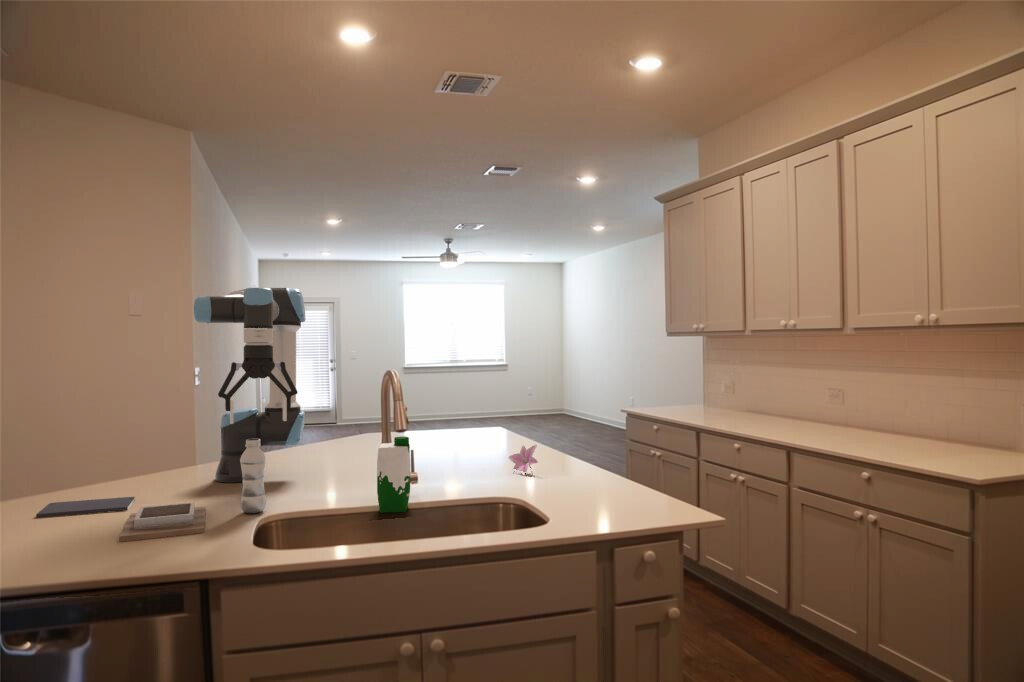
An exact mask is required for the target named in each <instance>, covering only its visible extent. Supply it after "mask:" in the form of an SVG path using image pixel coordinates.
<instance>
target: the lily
mask: <svg viewBox="0 0 1024 682" xmlns="http://www.w3.org/2000/svg"><path fill="white" fill-rule="evenodd" d="M537 447H538V445H537V444H534V445H532V446H530V447H528V448H527V447H525V445H522V446H521V449H520V452H519V453H513V454H511V455H509V456H508V459H509V461H511V462H512V463H513V464H515V465H514V466H513V469H516V470H517V471H523V472H526V473H527V471H528V467H529V468H531V469H532V467H531V465H534V464H538V463H539V462H538V460H537V459H536V458H535V457H533V455H534V453H535V451H536V448H537ZM513 469H512V470H513Z"/></svg>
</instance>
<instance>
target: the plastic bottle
mask: <svg viewBox="0 0 1024 682" xmlns="http://www.w3.org/2000/svg"><path fill="white" fill-rule="evenodd" d="M245 446H246V447H247V448H246V450H245V451H244V452H243V454H242V456H241V459H240V463H241V469H242V478H243V482H242V489H241V490H242V492H241V498H240V508H241V510H242V512H243V513H245V514H257V513H261V512H263V511H264V510H265V509H266V506H267V498H266V497H267V496H266V494H265V493H266V492H265V481H264V477H265V468H266V461H267V459H266V455H265V453H264V452H263V450H262V449H261V448H260V447H262V446H261V444H260V439H256V438H255V439H247V440H246V445H245Z"/></svg>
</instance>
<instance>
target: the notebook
mask: <svg viewBox="0 0 1024 682" xmlns="http://www.w3.org/2000/svg"><path fill="white" fill-rule="evenodd" d="M135 497H136V496H126V497H125V496H124V497H112V498H111V497H110V498H100V499H99V498H98V499H88V500H87V499H85V500H72V501H71V500H70V501H69V500H68V501H57V502H49V503H48V504H47V505H46V506H45V507H43V508H42V509H41V510H39V511H38V512H37V513H36V514H35V516H36V519H40V518H50V517H52V518H53V517H54V516H55V517H65V515H67V516H78V515H77V514H79V515H89V514H88V513H92V514H99V513H98V512H104V513H109V512H108V511H116V512H124V511H123V510H129V508H130V507H131V505H132V504H133V503H134V502H135ZM132 502H133V503H132ZM129 506H130V507H129Z"/></svg>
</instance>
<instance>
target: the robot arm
mask: <svg viewBox="0 0 1024 682" xmlns="http://www.w3.org/2000/svg"><path fill="white" fill-rule="evenodd" d="M193 315H194V319H195V321H196V322H197V323H202V324H205V323H206V324H222V323H223V324H233V323H234V324H243V343H244V344H245V345H244V346H243V361H242V363H240V362H239V363H238V362H234V361H232V362H231V364H230V370H229V372H228V374H227V376H226V378H225V380H224V381H223V383H222V386H221V388H220V389H219V391H218V393H217V395H218V397H219V398H222V399H224V400H225V401H224V402H225V403H224V404H225V405H224V407H225V408H224V409H225V411H226V412H225V413H223V414H222V415H221V421H220V449H221V451H220V452H221V454H220V460H219V461H218V465H217V468H216V471H215V481H216V482H218V483H219V482H220V483H231V484H232V483H243V478H242V469H241V463H240V459H241V456H242V454H243V452H244V451H245V450H246V448H247V447H246V446H245V445H246V440H247V439H255V438H256V439H260V444H261V446H260V447H281V446H282V447H288V446H289V447H290V446H296V445H299V444H300V442H301V441H302V439H303V438H302V437H303V433H304V429H305V422H306V421H305V419H306V418H305V417H306V412H305V411H303V410H301V405H300V403H298V402H297V394H298V390H297V332H298V331H299V329H301V328H302V327H301V326H302V323H305V322H306V307H305V302H304V297H303V294H302V291H301V290H300V289H298V288H293V287H292V288H291V287H246V288H244V289H239V290H234V291H231V292H229V293H228V294H226V295H225V294H224V295H217V296H216V295H215V296H213V295H212V296H211V295H210V296H209V295H206V296H203V295H202V296H197V297H196V298H195V299H194V303H193ZM241 368H242V370H243V371H244V374H243V375H242V376H241V378H240V379H238V380H237V382H236V383H235V384H234V385H233V386H232V387H231V389H229V391H228V392H227V393H226V391H227V389H228V387H229V386H230V383H231V381H232V380H233V378H234V376H235V374H236V372H237V371H239V370H240V369H241ZM267 377H268V378H269V402H268V403H267V404H266V405H265V406H264V411H260V410H259V408H257V407H248V408H246V407H245V408H241V409H236V410H235V409H234V398H232V396H234V395H235V394H236V392H238V390H239V389H240V388H241V387H242V386H243V384H245V382H246V381H247V380H248V379H249V378H251V379H255V380H256V379H265V378H266V379H267Z"/></svg>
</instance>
